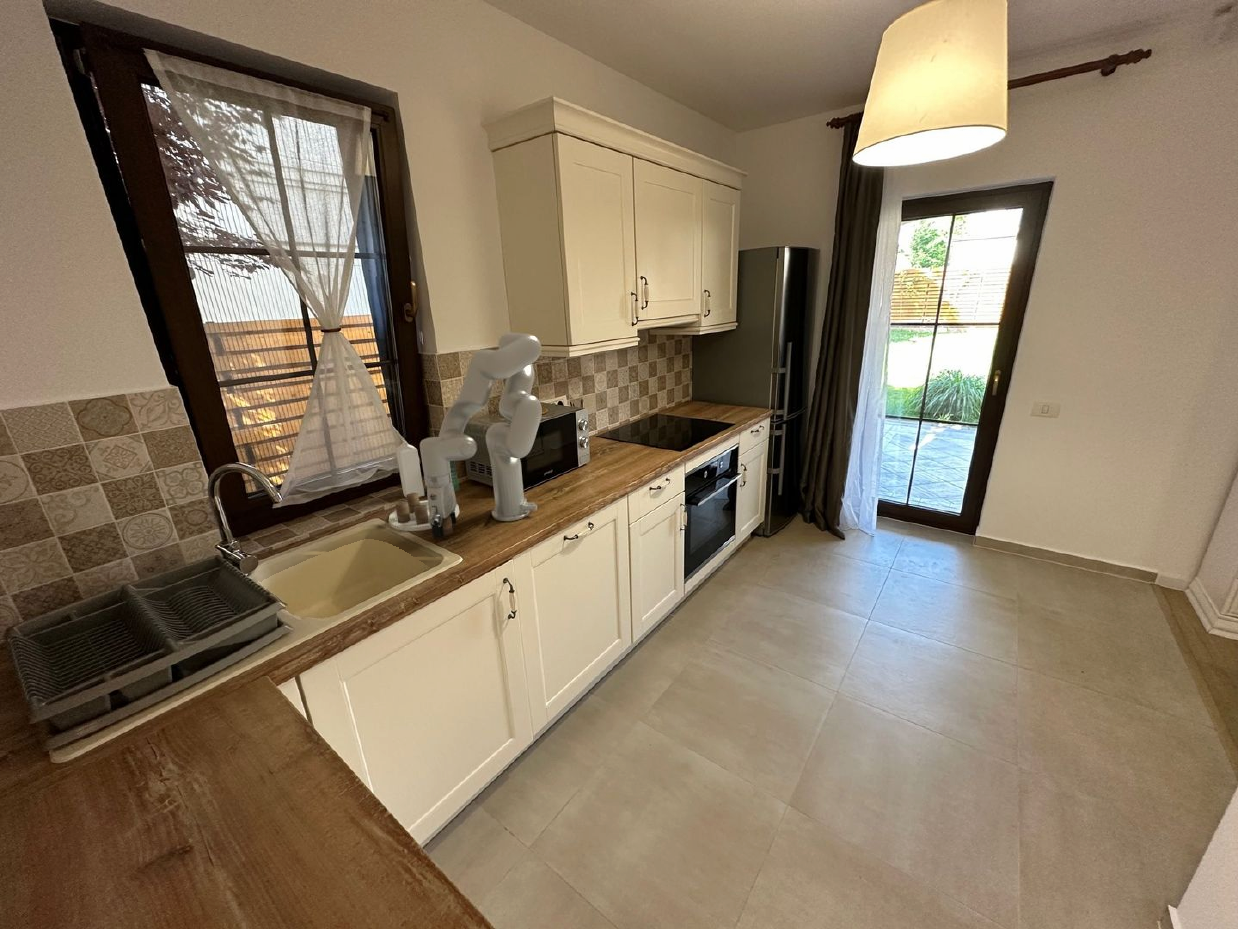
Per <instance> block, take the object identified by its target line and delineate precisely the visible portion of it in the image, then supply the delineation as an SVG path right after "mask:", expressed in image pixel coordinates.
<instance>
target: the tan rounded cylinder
mask: <svg viewBox="0 0 1238 929" xmlns="http://www.w3.org/2000/svg"><path fill="white" fill-rule="evenodd" d="M438 522H439V519H438ZM441 526H443V530H444V537H445V536H450V535H451V534H453V533H454V529H453V524H452V521H451V516H448V517H447V518H443V519H442V525H441Z"/></svg>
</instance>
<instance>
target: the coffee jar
mask: <svg viewBox="0 0 1238 929" xmlns="http://www.w3.org/2000/svg"><path fill="white" fill-rule="evenodd" d="M449 462H450V470H451V478H452V484H453V487H454V492H458V491H459V490H460V485H459V478H458V474H457V468H456V460H453V461H449Z"/></svg>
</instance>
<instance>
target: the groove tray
mask: <svg viewBox="0 0 1238 929" xmlns="http://www.w3.org/2000/svg"><path fill="white" fill-rule="evenodd" d="M419 502H420V505H426V506H427V511H428V517H429V508H428V499H427V500H425V499H424V500H419ZM456 504H457V503H456ZM459 514H460V508H459V504H457V505H456V508H455V516H456V518H458V516H459ZM436 516H440V515H436ZM410 518H411V520H410V521H409V522H407V523H399V522H398V518H397V512H396V509H395V510H394V511H393V512H392V513H390V514H389V518H388V524H389V526H391V528H393V529H395V530H398V531H405V532H418V531H426V530H432V527H431V525H430V522H429V523H428V524H421V525H417V523H416V517H415V512H414V513H410ZM435 521H437V522H438V519H435Z"/></svg>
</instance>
